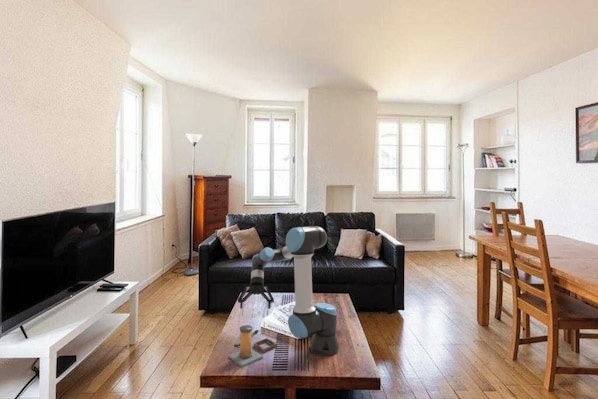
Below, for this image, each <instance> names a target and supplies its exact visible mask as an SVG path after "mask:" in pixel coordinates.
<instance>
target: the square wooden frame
mask: <svg viewBox="0 0 598 399" xmlns="http://www.w3.org/2000/svg"><path fill="white" fill-rule="evenodd" d="M265 343H268V344H270V346H268V347H263V346H261V345H263V344H265ZM253 347H254V348H255V349H257V350H258V351H260V352H262V353H268V352H270V351H272V350H274V349H277V348H278V343H277V342H275V341H273V340H272V339H269V338H268V337H266V338H263V339H261V340H258V341H255V342H254V343H253Z"/></svg>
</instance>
